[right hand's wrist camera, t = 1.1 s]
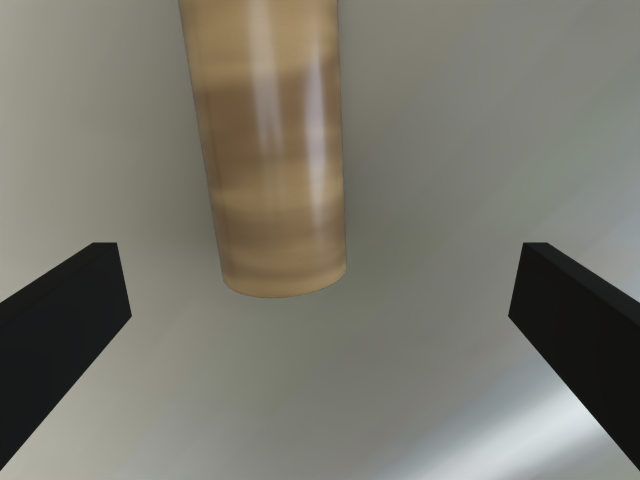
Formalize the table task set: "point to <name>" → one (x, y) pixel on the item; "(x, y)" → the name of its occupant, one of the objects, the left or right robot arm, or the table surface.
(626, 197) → the table surface
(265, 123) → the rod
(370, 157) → the table surface
